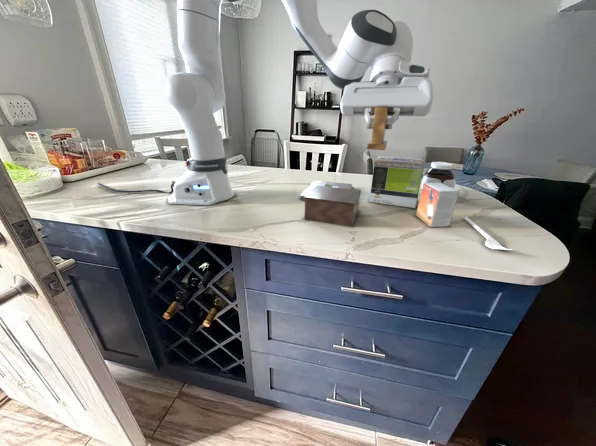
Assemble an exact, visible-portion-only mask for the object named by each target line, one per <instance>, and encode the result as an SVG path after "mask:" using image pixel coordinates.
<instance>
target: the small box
mask: <svg viewBox="0 0 596 446" xmlns="http://www.w3.org/2000/svg"><path fill="white" fill-rule="evenodd" d="M459 194H460V190H458V189H455V188H451V187H449V186H446V185H444V184H443V183H424V184H423V188H422V187H421V191H420V196H419V199H418V200H419V201H418V203H417V207H416V208H417V209H416V213H415V217H417V218H419V219H420V220H421V221H422V222H423V223H425V224H426V225H427V226H428V227H429V228H439V227H440V228H441V227H443V228H444V227H449V226H450V224H451V220H452V217H453V214H454V210H455V207H456V204H457V200H458V198H459Z"/></svg>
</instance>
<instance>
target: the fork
mask: <svg viewBox="0 0 596 446" xmlns="http://www.w3.org/2000/svg"><path fill="white" fill-rule="evenodd" d="M463 219H464V220H465V221H466V222H467V223H468V224H469V225H471V226H472V227H473V228H474V229H475V230H476V231H477V232H478V233H479V234H481V235H482V236H483V237H484V238H485V239H486V240H485V241H484V245H485V246H486V247H487V248H489V249H493V250H502V251H513V250H514V249H510V248H507V247H504V246H502V244H501V243H500V242H498V241H497V240H496V239H495V238H494V237H492V236H491V235H490V234H489V233H487V232H486V231H485V230H484V229H483V228H481V227H480V226H479V225H478V224H477V223H475V222H474V221H473V220H471V219H470V218H469V217H468V216H464V217H463Z"/></svg>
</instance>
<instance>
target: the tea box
mask: <svg viewBox="0 0 596 446" xmlns="http://www.w3.org/2000/svg"><path fill="white" fill-rule="evenodd" d="M424 169H425V158H418V157H417V158H416V157H402V156H401V157H399V156H386V155H385V156H384V155H378V157H377V158H376V159H375V160H374V162H373V170H372V179H371V184H370V185H371V186H370V194H369V202H370V203H376V204H381V205H390V206H397V207H405V208H410V209H416V208H417V204H418V202H417V201H418V200H419V199H418V198H419V193H420V190H421V185H422V181H423V176H424Z"/></svg>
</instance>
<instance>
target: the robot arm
mask: <svg viewBox="0 0 596 446" xmlns="http://www.w3.org/2000/svg"><path fill="white" fill-rule="evenodd" d="M223 1H224V0H176V20H177V22H176V23H177V46H178V49H179V51H180V52H181V53H180V54H182V57H183V60H184V63H185V69H186V71H180V72H175V73H173V74H170V75H169V76H168V77H167V78H166V80H165V82H164V84H163V85H164V86H163V92H164V97H165V99H166V101H167V103H168V104H169V105H170V106H171V107H172V109H174V111H175V112H176V114H177V115H178V118H179V120H180V123H181V125H182V127H183V129H184V132H185V135H186V138H187V144H188V147H189V154H190V157H188V159H187V160H186V161H185V163H184V164H185V167H186V168H187V170H186V171H185V172H183V174H182V175H180V176H179V177H178V178H176V179H174V180H171V184H170V190H171V191H169V192H168V191H163V190H161V189H140V190H138V189H137V190H125V189H124V190H123V189H115V188H111V187H109V186H107V185H105V184H103V183H101V182H97V185H99V186H100V187H102V188H104V189H108V190H110V191H112V192H118V193H149V192H158V193H161V194H170V196H168V198H167V200H168V204H170V205H189V206H190V205H191V206H195V205H196V206H212V205H215V204H217V203H221V202H224V201H227V200H230V199H232V198H233V197H234V196H235V193H234V190H233V188H232V185H231V181H230V178H229V166H228V160H227V156H226V154H225V146H224V140H223V138H224V137H223V134H222V131H221V130H220V128H219V127H218V123H217V122H216V118H215V115H214V114H215V113H217V112H218V111H220V110H221V109H222V108H223V107H224V105H225V104H226V98H227V97H226V92H225V89H224V87H223V79H222V71H221V63H220V62H221V61H220V31H221V7H222V3H223ZM226 1H227V2H228V3H235V2H238V1H239V0H226ZM281 2H282V3H283V5H284V7H285V10H286V11H287V14H288V17H289V20H290V23H291V26H292V28H293V29H294V30H295V32H296V33H297V35H298V36H299V37H300V39H301V40H302V41H303V42H304V44H305V45H306V47H307V48H308V49H309V51H310V52H311V54H313V56H314V57H315V58H316V60H317V61H318V62H319V64H320V65H321V67H322V69H323V70H324V71H325V73H326V75H327V77H328V79H329V80H330V82H331V83H332V85H333V86H334V87H336V88H338V89H339V90H343V92H342V96H341V99H340V101H339V102H340V103H339V105H340V106H339V108H340V113H341V114H342V116H344V117H345V116H347V117H364V120H365V122H366V129H367V130H373V129H372V127H373V119H374V115H375V109H376V108H378V107H387V108H389V111H388V118H387V119H386V125H385V129H386V130H393V125H394V124H395V123H396V122H397V121H398V120H399V119H400V118H399V117H425V116H427V115H428V114H429V113H430V111H431V110H432V109H431V108H432V105H433V98H434V92H433V89H434V88H433V83H432V81H431V79H430V68H429V66H426V65H425V66H423V65H419V64H415V63H411V61H412V56H413V47H414V40H413V34H412V30H411V28H410V26H409V25H408V24H407V23H405V22H403V21H402V20H401V21H400V20H395V21H394V20H392V18H390V17H389V16H388V15H386V14H385V13H384V12H382V11H379V10H377V9H365V10H361V11H358V12H356V13H354V15H353V16H351V19H350V21H349V23H348V25H347V27H346V30H345V31H344V33H343V36H342V38H341V40H340V42H339V44H338V46H336V44H335V43H334V41H333V40H332V39H331V38H330V35H328V33H327V32H326V31H325V29H324V28H323V26H322V25H321V23H320V20H319V15H318V14H319V13H318V0H281ZM370 67H371V74H370V77H369V80H365V81H362V80H363V78H364V76H365V75H366V72H367V71H368V69H369V68H370Z"/></svg>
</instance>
